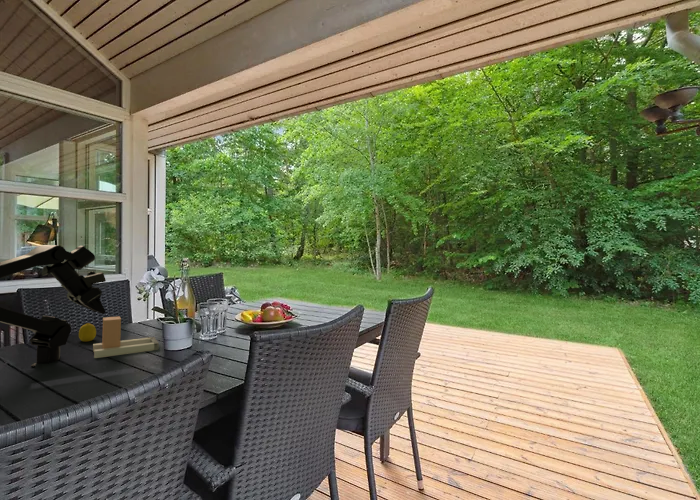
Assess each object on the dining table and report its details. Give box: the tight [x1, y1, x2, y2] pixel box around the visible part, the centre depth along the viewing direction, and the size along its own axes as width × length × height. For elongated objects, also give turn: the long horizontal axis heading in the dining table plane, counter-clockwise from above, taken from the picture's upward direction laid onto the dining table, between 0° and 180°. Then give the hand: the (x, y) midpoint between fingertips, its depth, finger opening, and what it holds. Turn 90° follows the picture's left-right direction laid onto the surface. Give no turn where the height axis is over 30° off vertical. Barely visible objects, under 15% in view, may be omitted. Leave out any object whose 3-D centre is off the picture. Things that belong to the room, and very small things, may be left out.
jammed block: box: [101, 315, 122, 349], centre depth 127 cm, size 5×5×12 cm
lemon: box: [78, 322, 97, 343], centre depth 139 cm, size 6×6×8 cm
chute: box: [92, 336, 160, 359], centre depth 130 cm, size 19×10×4 cm, turn 128°
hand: (100, 312), depth 127 cm, fingers open, 9 cm apart
